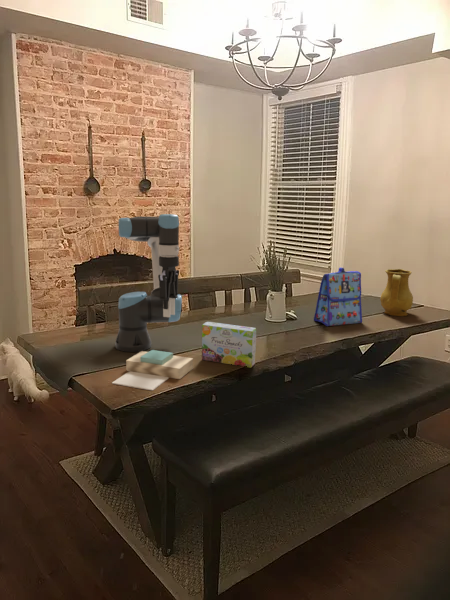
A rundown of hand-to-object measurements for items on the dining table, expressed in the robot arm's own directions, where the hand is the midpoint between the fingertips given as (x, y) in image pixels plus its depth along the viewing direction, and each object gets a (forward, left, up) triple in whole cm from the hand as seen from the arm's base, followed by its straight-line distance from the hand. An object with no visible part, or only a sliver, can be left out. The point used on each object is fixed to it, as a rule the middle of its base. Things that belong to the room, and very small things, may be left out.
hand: (169, 315), depth 197 cm
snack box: (+22, +8, -19) cm, 30 cm away
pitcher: (+81, +119, -19) cm, 145 cm away
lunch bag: (+54, +88, -19) cm, 105 cm away
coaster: (0, -11, -15) cm, 18 cm away
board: (+1, -10, -19) cm, 21 cm away
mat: (0, -23, -19) cm, 30 cm away
